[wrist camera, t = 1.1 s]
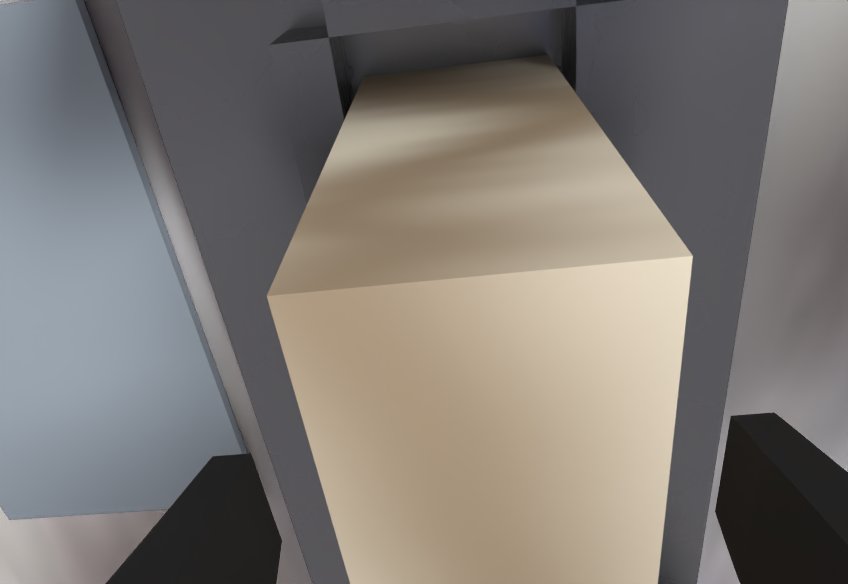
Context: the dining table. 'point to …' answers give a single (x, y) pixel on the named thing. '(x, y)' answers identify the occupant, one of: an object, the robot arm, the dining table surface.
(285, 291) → the block
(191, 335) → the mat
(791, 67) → the dining table surface
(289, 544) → the dining table surface
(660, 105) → the rack
